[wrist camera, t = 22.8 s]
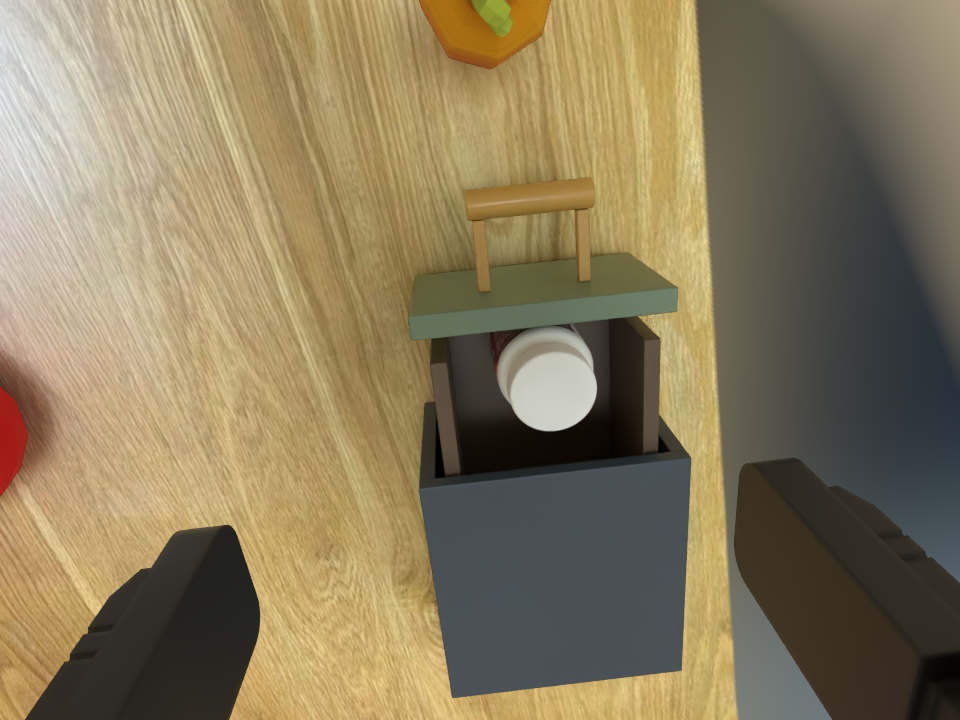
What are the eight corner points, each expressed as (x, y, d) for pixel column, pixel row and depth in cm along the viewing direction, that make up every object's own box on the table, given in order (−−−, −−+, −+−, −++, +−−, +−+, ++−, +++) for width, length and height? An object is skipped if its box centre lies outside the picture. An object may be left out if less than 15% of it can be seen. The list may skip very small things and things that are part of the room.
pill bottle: (471, 335, 34) (478, 397, 27) (528, 275, 33) (554, 322, 25) (528, 384, 36) (552, 458, 28) (586, 329, 35) (627, 389, 27)
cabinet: (424, 403, 38) (418, 489, 29) (634, 379, 38) (691, 457, 29) (450, 580, 43) (452, 698, 35) (633, 559, 44) (682, 671, 35)
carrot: (463, -52, 29) (480, -213, 15) (542, 17, 30) (625, -72, 16) (406, 40, 30) (374, -29, 16) (484, 103, 32) (516, 88, 18)
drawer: (402, 187, 32) (390, 206, 25) (628, 163, 32) (682, 175, 25) (442, 475, 39) (442, 555, 32) (628, 453, 39) (670, 528, 32)
